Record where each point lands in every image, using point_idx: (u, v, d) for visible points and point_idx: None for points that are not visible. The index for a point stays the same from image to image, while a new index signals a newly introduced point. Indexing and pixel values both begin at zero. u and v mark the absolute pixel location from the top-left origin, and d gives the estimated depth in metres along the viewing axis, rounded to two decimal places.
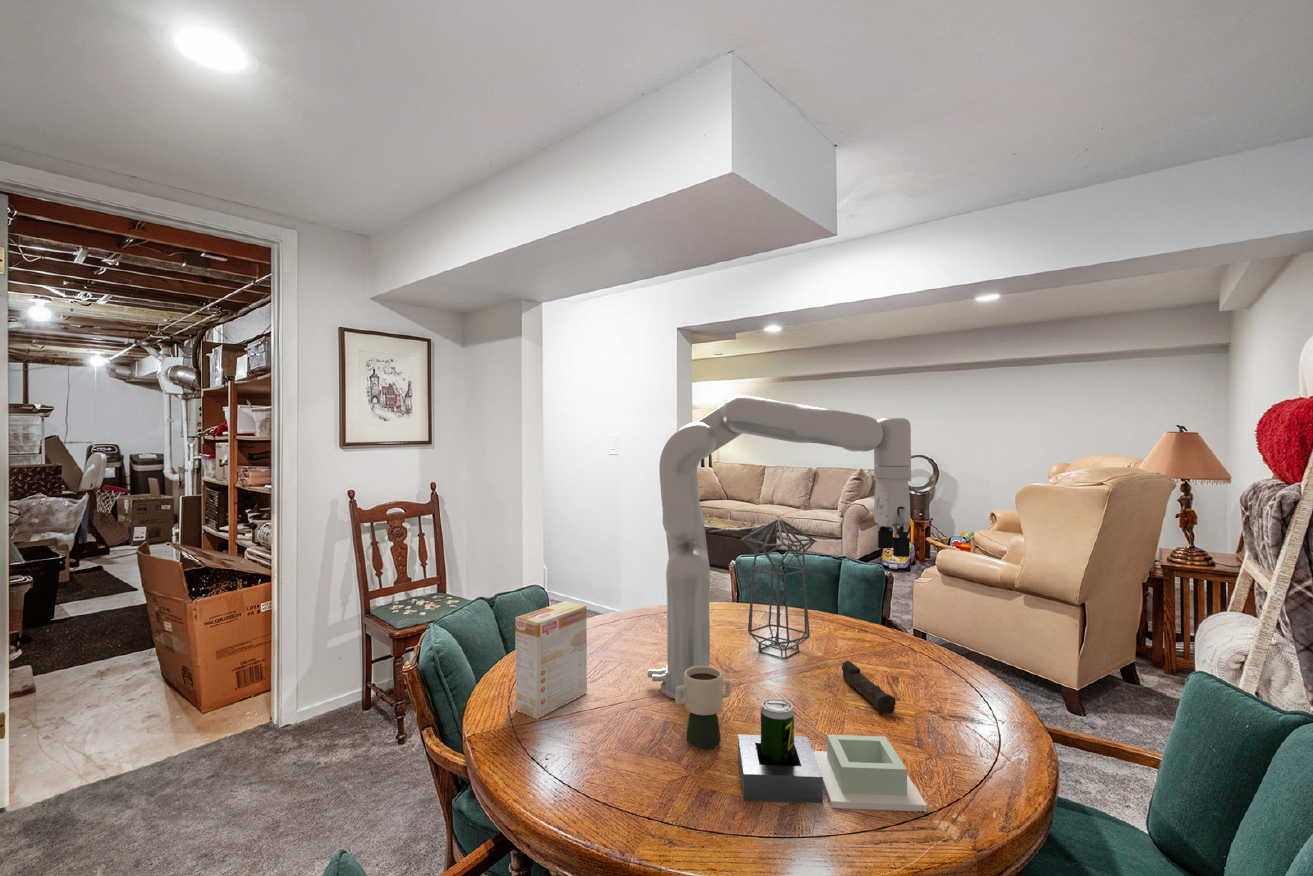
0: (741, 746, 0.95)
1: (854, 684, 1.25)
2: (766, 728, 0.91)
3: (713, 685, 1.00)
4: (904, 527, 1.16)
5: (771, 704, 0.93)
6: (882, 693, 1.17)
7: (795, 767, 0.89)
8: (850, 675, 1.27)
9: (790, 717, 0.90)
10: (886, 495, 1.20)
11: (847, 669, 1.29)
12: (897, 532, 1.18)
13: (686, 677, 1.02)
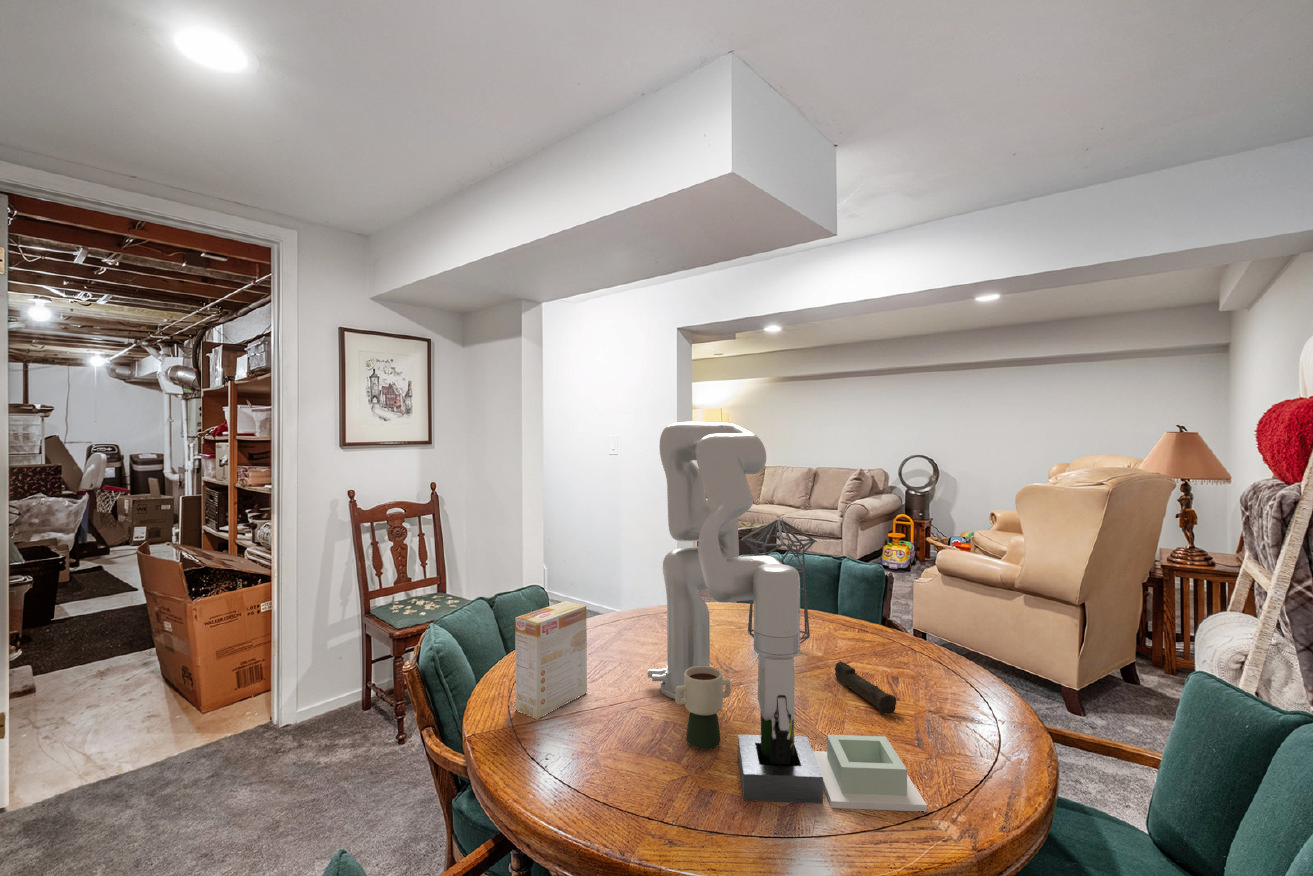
0: (741, 746, 0.95)
1: (850, 685, 1.25)
2: (766, 728, 0.91)
3: (713, 685, 1.00)
4: (780, 733, 0.86)
5: None
6: (882, 692, 1.17)
7: (795, 767, 0.89)
8: (845, 676, 1.27)
9: None
10: (763, 677, 0.89)
11: (842, 670, 1.28)
12: (774, 734, 0.88)
13: (686, 677, 1.02)
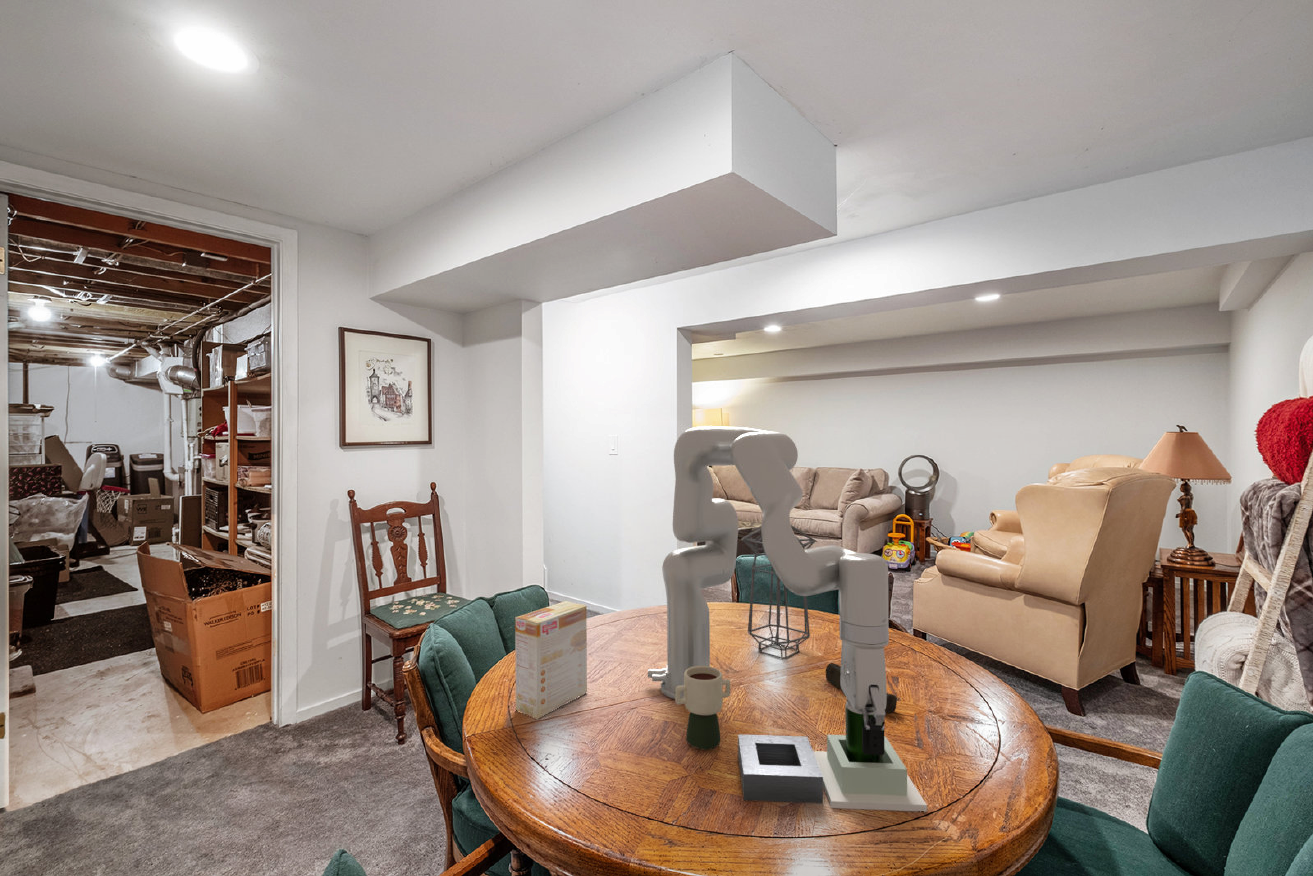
0: (741, 746, 0.95)
1: None
2: (853, 723, 0.90)
3: (713, 685, 1.00)
4: (876, 721, 0.84)
5: None
6: None
7: (795, 767, 0.89)
8: None
9: None
10: (854, 666, 0.88)
11: (835, 671, 1.27)
12: (868, 722, 0.86)
13: (686, 677, 1.02)
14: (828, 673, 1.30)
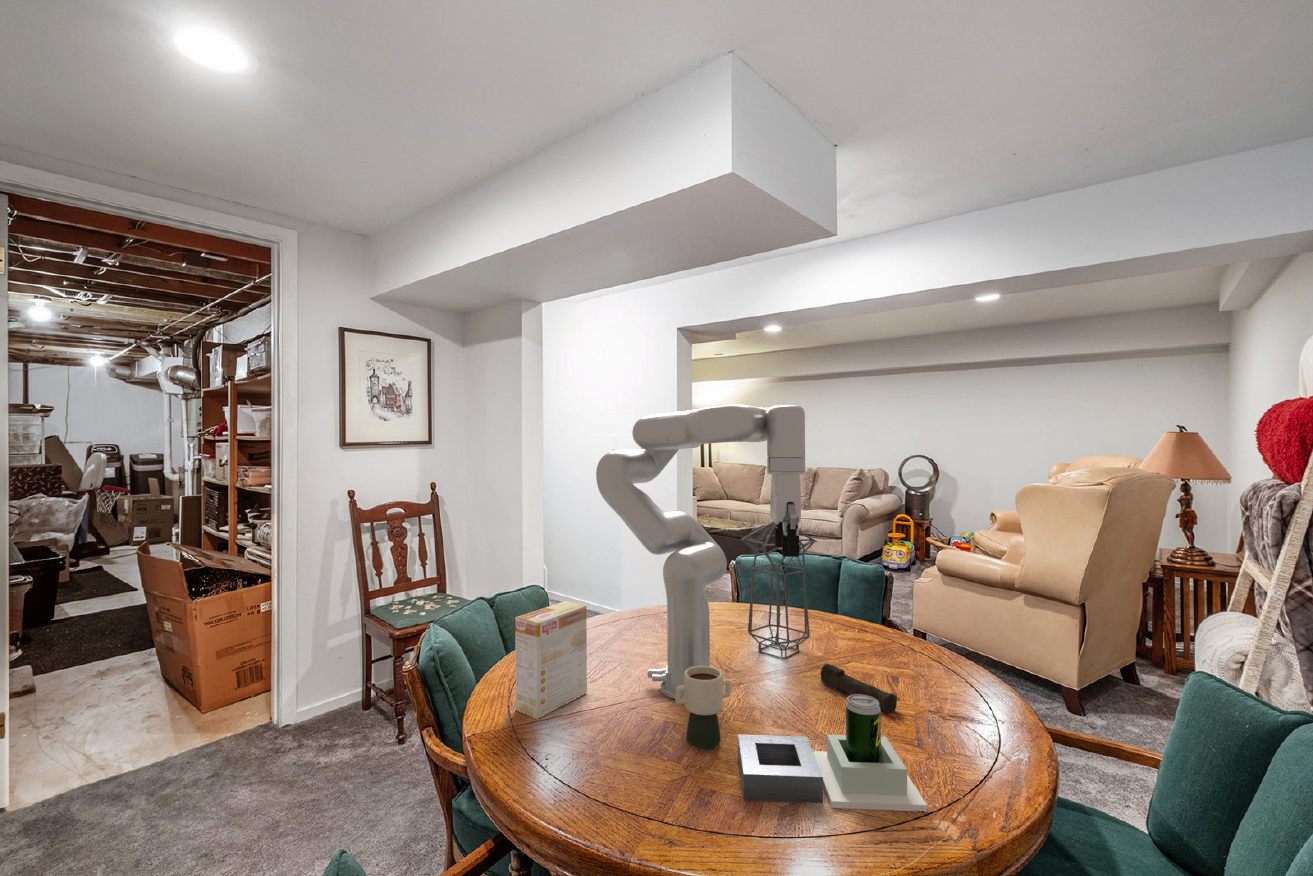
0: (741, 746, 0.95)
1: (844, 687, 1.24)
2: (853, 723, 0.90)
3: (713, 685, 1.00)
4: (791, 524, 1.06)
5: (856, 700, 0.93)
6: (883, 692, 1.17)
7: (795, 767, 0.89)
8: (837, 678, 1.25)
9: (878, 713, 0.90)
10: (776, 489, 1.10)
11: (832, 672, 1.27)
12: (785, 529, 1.08)
13: (686, 677, 1.02)
14: (824, 674, 1.29)
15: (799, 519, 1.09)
